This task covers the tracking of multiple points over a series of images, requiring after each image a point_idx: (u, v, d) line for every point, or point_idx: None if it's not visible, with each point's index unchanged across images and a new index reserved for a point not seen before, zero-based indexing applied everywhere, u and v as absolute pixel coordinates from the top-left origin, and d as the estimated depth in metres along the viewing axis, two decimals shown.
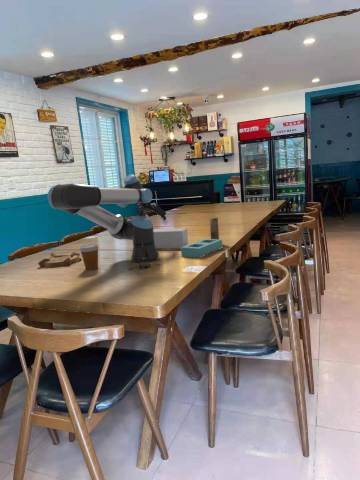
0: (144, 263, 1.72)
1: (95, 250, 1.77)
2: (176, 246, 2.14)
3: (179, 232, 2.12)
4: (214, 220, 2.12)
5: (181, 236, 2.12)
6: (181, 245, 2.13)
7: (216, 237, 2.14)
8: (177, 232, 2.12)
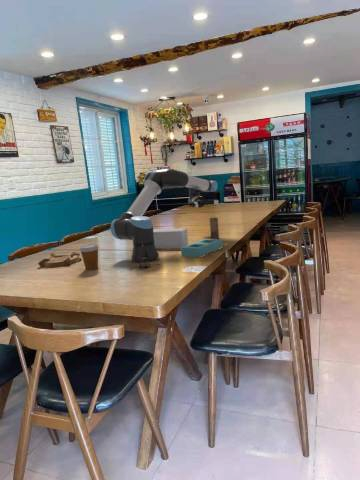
0: (144, 263, 1.72)
1: (95, 250, 1.77)
2: (176, 246, 2.14)
3: (179, 232, 2.11)
4: (214, 220, 2.12)
5: (181, 236, 2.12)
6: (181, 245, 2.13)
7: (216, 237, 2.14)
8: (176, 232, 2.12)
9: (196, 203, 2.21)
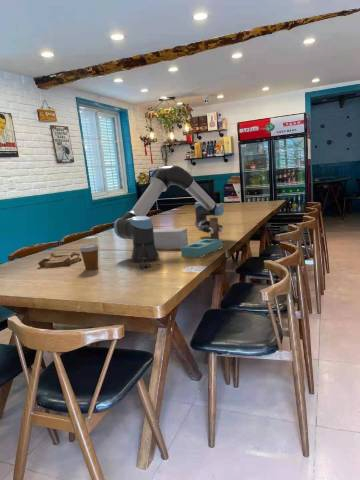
0: (145, 263, 1.72)
1: (95, 250, 1.77)
2: (175, 246, 2.13)
3: (178, 233, 2.11)
4: (214, 220, 2.12)
5: (180, 236, 2.11)
6: (180, 245, 2.12)
7: (216, 237, 2.14)
8: (175, 232, 2.11)
9: (211, 229, 2.10)
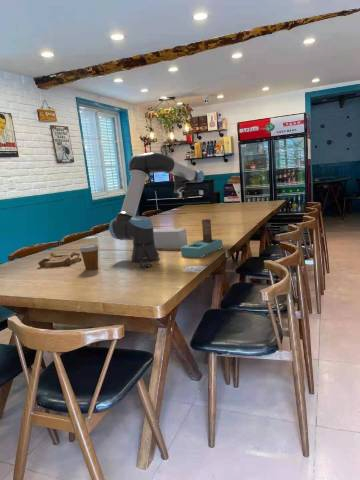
0: (145, 263, 1.72)
1: (95, 250, 1.77)
2: (173, 246, 2.14)
3: (176, 233, 2.11)
4: (206, 222, 1.96)
5: (178, 236, 2.11)
6: (178, 246, 2.12)
7: (209, 240, 1.98)
8: (174, 232, 2.12)
9: (180, 193, 2.12)
